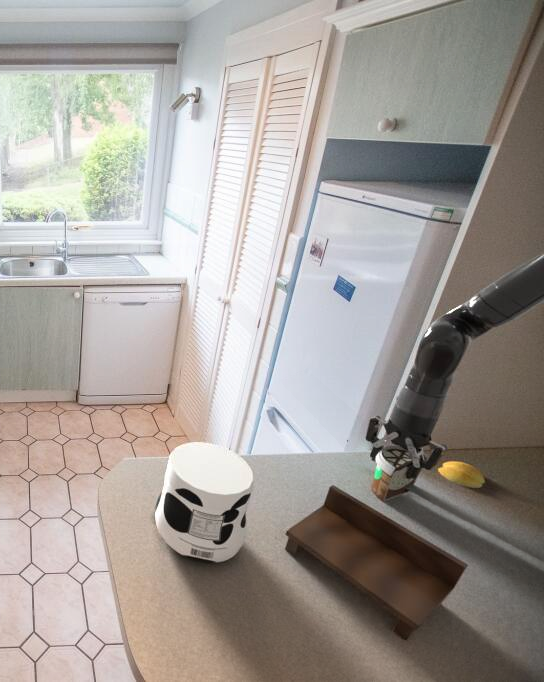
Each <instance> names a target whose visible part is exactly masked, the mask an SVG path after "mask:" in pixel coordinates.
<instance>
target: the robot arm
mask: <svg viewBox="0 0 544 682" xmlns="http://www.w3.org/2000/svg"><path fill="white" fill-rule="evenodd" d="M542 303H544V251H542V252H541V253H539V254H538V255H536V256H534V257H532V258H531V259H529V260H527V261H526V262H524V263H522V264H520V265H518V266H517V267H515V268H513V269H511V270H510V271H509V272H506V273H505V274H504V275H502V276H501V277H499V278H497V279H496V280H495V281H493V282H492V283H490V284H488V285H487V286H486V287H484V288H483V289H481V290H480V291H479V292H477V293H476V294H475V295H473V296H472V297H470V299H468V300H467V301H466V302H463V303H461V304H460V305H458V306H457V307H454V308H453V309H451V310H449V311H447V312H445V313H444V314H443V315H441V316H440V317H438V318H437V319H435V320H434V321H433V322H432V323H430V325H428V327H427V328H426V330H425V331H424V332H423V333H422V336H421V339H420V340H419V343H418V347H417V350H416V354H415V357H414V361H413V364H412V366H411V367H410V370H409V371H408V374H407V377H406V379H405V382H404V384H403V386H402V387H401V389H400V390H399V393H398V395H397V396H396V399H395V403H394V405H393V408H392V410H391V412H390V415H389V418H388V420H386V419H382V418H381V416H379V415H375V416H374V417H371V418H370V419H369V422H368V426H367V430H366V433H365V440H366V441H367V442H369V443H371V444H372V449H371V451H370V454H369V457H370V458H371V461H373V462H375V463H376V456H377V454H378V453H379V452H380V451H381V450H382V449H383V448H385V446H384V445H385V444H387V443H389V442H390V443H391V444H393V445H394V446H400V447H402V448H403V449H405V450H407V451H409V455H410V457H411V458H412V462H413V465H411V467H410V470H409V472H408V474H407V476H406V478H407V479H409V480H410V479H412V478H413V479H414V478H416V477H417V476H418V475H419V476H420V474H421V472H422V470H423V469H425V470H426V471H431V470H432V469H434V468H435V467H436V466H437V465H438V463H439V461H440V460H441V458H442V457H443V455H444V454H445V452H446V451H447V449H448V446H447V445H446V444H443V443H442V444H439V443H437V442H435V441H433V440H432V433H433V431H434V429H435V427H436V425H437V422H438V421H439V418H440V416H441V413H442V412H443V410H444V407H445V404H446V401H447V397H448V394H449V392H450V390H451V387H452V385H453V383H454V380H455V377H456V371H457V370H458V368H459V366H460V364H461V362H462V360H463V358H464V357H465V354H466V353H467V351H468V349H469V347H470V345H471V343H473V342H474V341H476V340H477V339H478V338H480V337H482V336H483V335H485V334H487V333H488V332H490V331H491V330H493V329H494V328H500V327H503V326H506V325H507V324H509V323H511V322H513V321H515V320H516V319H518V318H519V317H522V316H523V315H524V314H526V313H528V312H529V311H531V310H532V309H534V308H536V307H537V306H539V305H540V304H542ZM382 427H383V428H384V430H385V432H386V435H384V436H383V437H381V438H379V437H378V434H379V433H378V432H379V429H380V428H382ZM427 446H428V447H429V452H430V453H431V454H430V456H428V461H425V460H424V456H423V453H424V454H425V452H424V447H427ZM421 469H422V470H421ZM420 471H421V472H420ZM419 473H420V474H419ZM419 476H418V477H419Z"/></svg>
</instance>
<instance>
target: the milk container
mask: <svg viewBox="0 0 544 682" xmlns="http://www.w3.org/2000/svg"><path fill="white" fill-rule="evenodd" d="M253 488H254V474H253V470H252V468H251V467H250V465H249V463H248V462H247V460H245V459H244V458H242V457H241V456H240V455H239V454H238V453H236V452H234V451H232V450H230V449H228V448H226V447H225V446H221V445H218V444H215V443H211V442H203V441H193V442H185V443H183V444H181V445H179V446H176V448H174V449H173V451H171V452H170V454H169V458H168V461H167V467H166V471H165V475H164V483H163V488H162V490H161V492H160V494H159V496H158V497H157V500H156V502H155V509H154V510H155V512H154V513H155V514H154V516H155V525H156V528H157V531H158V533H159V535H160V536H161V538H162V540H163V541H164V542H165V544H166V545H167V546H168V547H169V548H171V549H172V550H173V551H174V552H176V553H177V554H179V555H180V556H183V557H184V558H186V559H188V560H191V561H194V562H198V563H205V564H217V563H223V562H225V561H227V560H229V559H231V558H233V557H234V556H235V555H237V553H238V552H239V551H240V549H241V547H242V546H243V545H244V541H245V539H246V535H247V530H248V529H247V525H248V524H247V511H248V507H249V505H250V500H251V496H252V493H253V490H254V489H253Z"/></svg>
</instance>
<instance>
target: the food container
mask: <svg viewBox="0 0 544 682" xmlns="http://www.w3.org/2000/svg"><path fill="white" fill-rule="evenodd" d="M423 456H424V460H425V461H428V459H429V455H428V454H427V453H425V452H424V453H423ZM375 463H376V464H377V465H376V467H375V471H374V476H373V479H372V482H371V486H370V487H371V489H370V490H371V491H372V493H373V494H374V495H375V497H377V498H378V499H379V500H380V501H381V502H387V501H389V500H391V499H394V498H397V497H399V496H402V495H404V494H407V493H409V492H411V490H410V489H408V487H411V486H414V485H415V484H416V481H417V480H418V477H419V476H420V474H421V472H422V470H423V468H422V469H421V471H420V473H419V475H418V476H417V477H416V478H414V479H413V478H412V479H410V480H409V479H407V478H406V476H407V474H408V472H409V470H410V467H411V465H413V462H412V458H411V457H410V455H409V451H407V450H405V449H403V448H402V447H400V446H398V445H388V446H384V448H383V449H382V450H381V451H380V452H379V453H378V454H377V456H376V461H375Z"/></svg>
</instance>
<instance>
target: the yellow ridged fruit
mask: <svg viewBox="0 0 544 682" xmlns="http://www.w3.org/2000/svg"><path fill="white" fill-rule="evenodd" d="M437 471H438V472H439V474H440V475H441V476H443V477H444V478H446V479H447V480H448V481H450V482H452V483H454V484H456V485H459V486H462V487H466V488H473V489H476V488H482V487H483V484H485V482H486V481H485V478H484V476H483V474H482V472H480V470H478V469H477V468H476V467H474V466H473V465H471V464H468V463H466V462H463V461H445V462H444V463H442V466H441V467H438V469H437Z"/></svg>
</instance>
